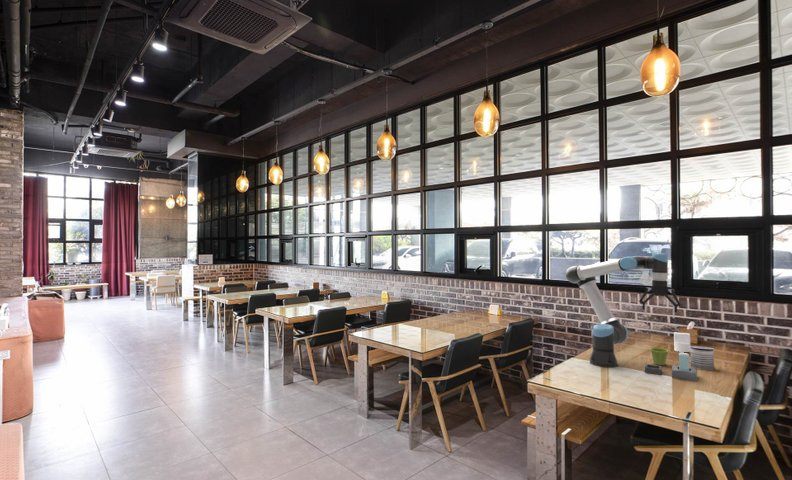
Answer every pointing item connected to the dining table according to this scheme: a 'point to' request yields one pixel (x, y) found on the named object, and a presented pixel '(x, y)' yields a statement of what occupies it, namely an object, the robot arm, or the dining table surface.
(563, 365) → the dining table surface
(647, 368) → the holster
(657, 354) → the plant pot
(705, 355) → the can
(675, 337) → the cylinder with rectangular tab
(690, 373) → the port block
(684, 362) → the plug
